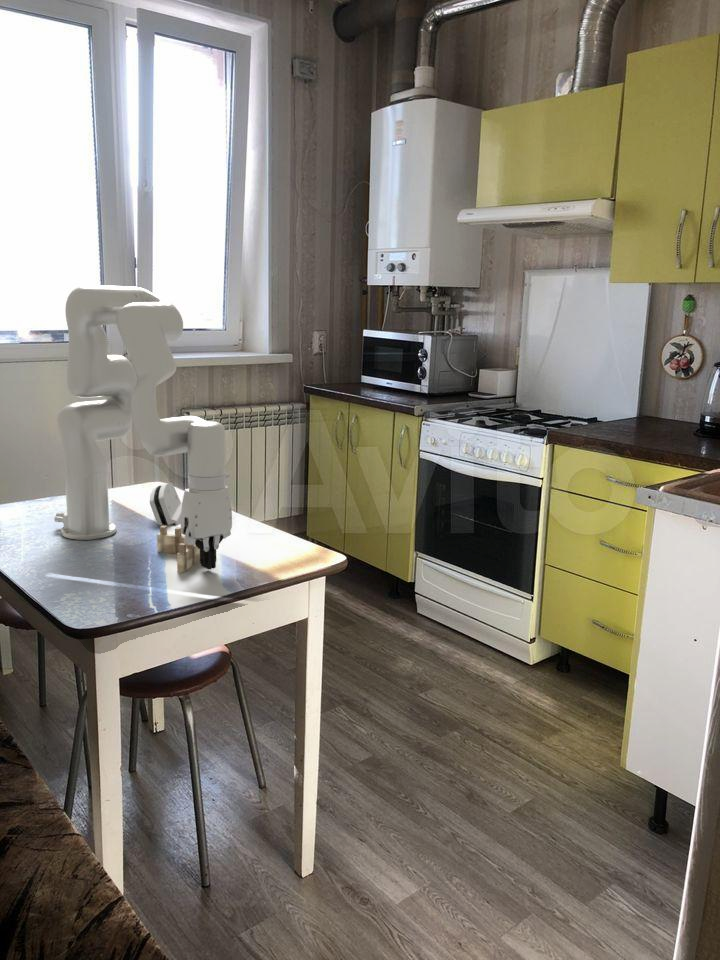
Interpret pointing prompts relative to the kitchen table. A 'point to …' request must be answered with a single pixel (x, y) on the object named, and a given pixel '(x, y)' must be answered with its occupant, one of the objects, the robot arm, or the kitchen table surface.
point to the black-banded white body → (166, 505)
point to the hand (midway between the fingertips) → (208, 566)
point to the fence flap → (187, 557)
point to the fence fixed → (169, 540)
